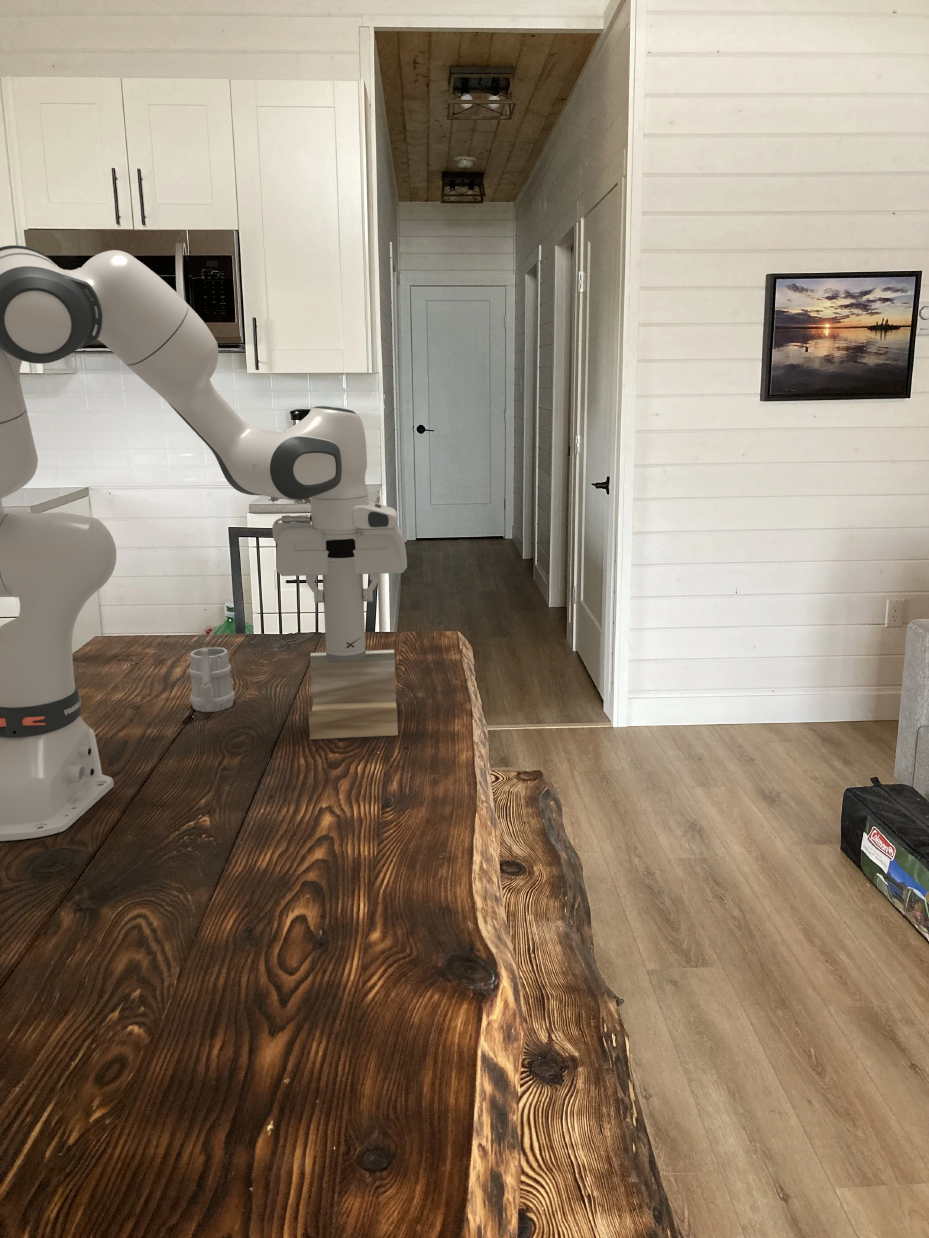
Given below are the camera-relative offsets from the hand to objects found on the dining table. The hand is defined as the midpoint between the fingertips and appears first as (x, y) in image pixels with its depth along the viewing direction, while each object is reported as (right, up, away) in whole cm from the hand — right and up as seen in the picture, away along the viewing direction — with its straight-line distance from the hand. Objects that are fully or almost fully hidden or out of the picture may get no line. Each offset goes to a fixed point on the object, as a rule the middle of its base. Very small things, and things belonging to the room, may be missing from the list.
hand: (343, 601), depth 149 cm
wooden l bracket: (+1, -20, +8) cm, 22 cm away
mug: (-25, -19, +17) cm, 35 cm away
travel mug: (0, -9, +3) cm, 9 cm away
